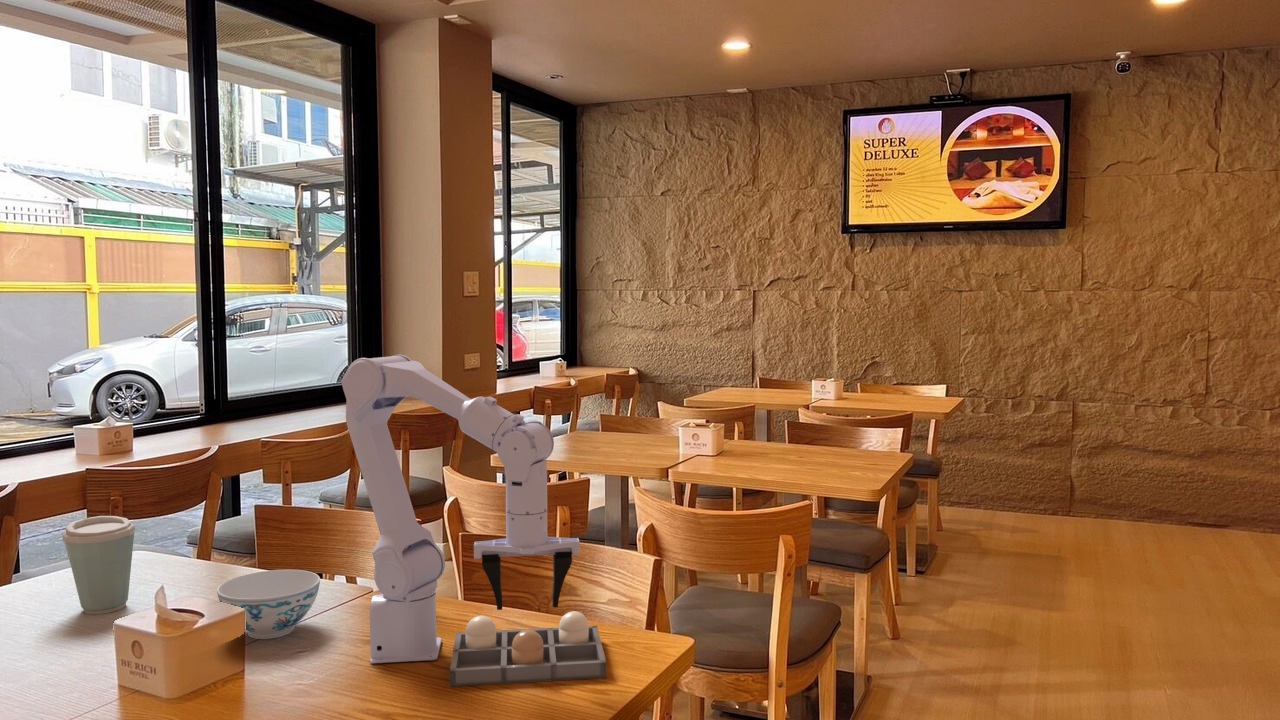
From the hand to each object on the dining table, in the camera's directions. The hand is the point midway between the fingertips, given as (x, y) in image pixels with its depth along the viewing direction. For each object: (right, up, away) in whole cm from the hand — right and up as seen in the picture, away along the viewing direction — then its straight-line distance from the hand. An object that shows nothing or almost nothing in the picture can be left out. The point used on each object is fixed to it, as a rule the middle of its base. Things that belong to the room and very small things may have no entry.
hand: (527, 606), depth 129 cm
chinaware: (-42, -9, +16) cm, 46 cm away
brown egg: (0, -9, +1) cm, 9 cm away
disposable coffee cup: (-75, -8, +27) cm, 80 cm away
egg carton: (0, -9, +4) cm, 10 cm away
